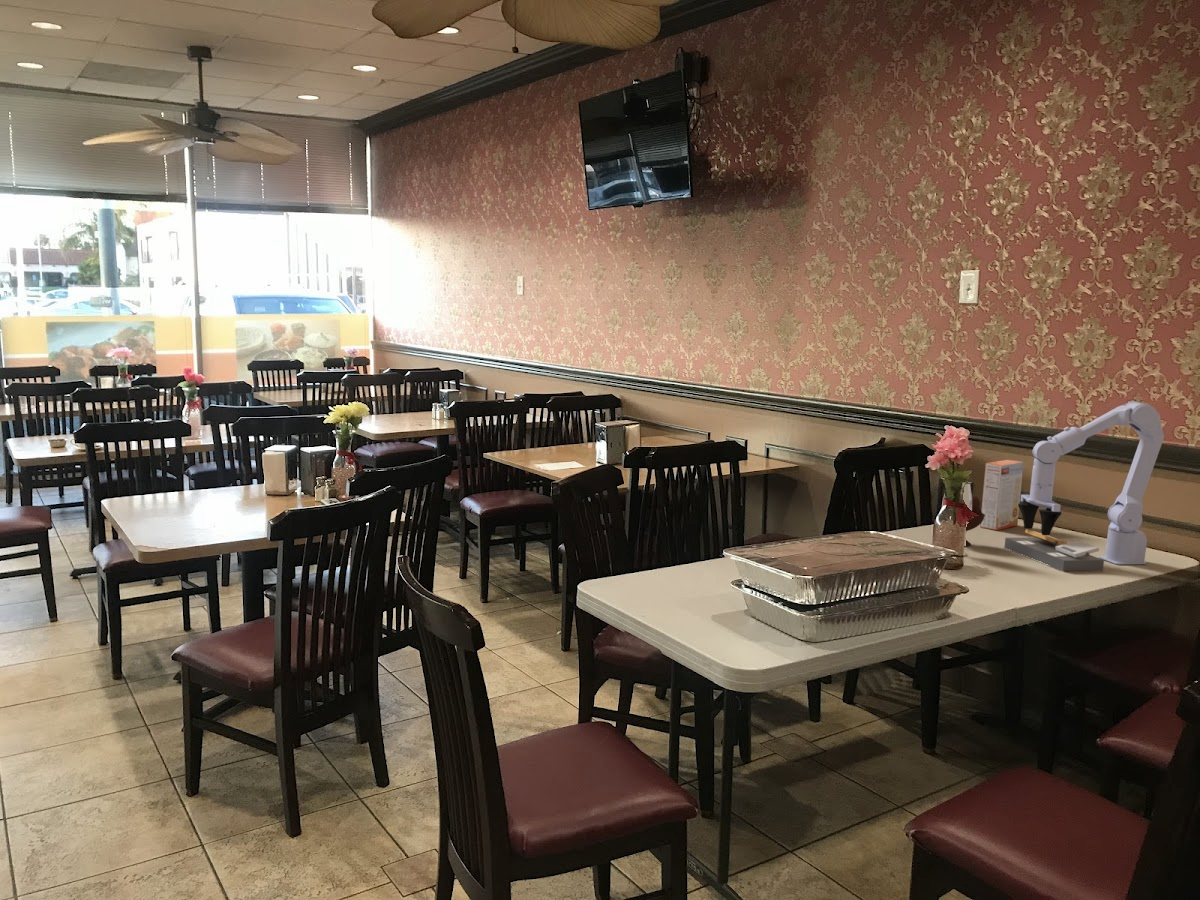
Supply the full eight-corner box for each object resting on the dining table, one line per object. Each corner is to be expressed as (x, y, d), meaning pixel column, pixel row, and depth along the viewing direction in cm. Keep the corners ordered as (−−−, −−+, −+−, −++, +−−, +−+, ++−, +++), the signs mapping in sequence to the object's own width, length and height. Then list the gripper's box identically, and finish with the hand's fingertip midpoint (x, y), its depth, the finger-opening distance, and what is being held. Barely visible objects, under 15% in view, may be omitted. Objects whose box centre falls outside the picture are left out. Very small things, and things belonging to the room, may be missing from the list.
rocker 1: (1044, 539, 274) (1046, 534, 274) (1065, 547, 265) (1067, 542, 265) (1024, 534, 272) (1026, 528, 272) (1044, 541, 263) (1046, 536, 263)
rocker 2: (1078, 545, 260) (1077, 540, 260) (1099, 553, 253) (1098, 547, 252) (1055, 552, 259) (1055, 546, 259) (1075, 559, 252) (1075, 553, 251)
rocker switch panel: (1053, 547, 277) (1054, 536, 277) (1115, 570, 253) (1117, 559, 252) (1004, 547, 274) (1005, 536, 273) (1062, 571, 250) (1064, 559, 249)
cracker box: (1000, 522, 309) (1006, 458, 306) (1018, 526, 305) (1025, 461, 302) (978, 527, 300) (984, 461, 297) (996, 531, 296) (1003, 464, 293)
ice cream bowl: (974, 540, 281) (979, 490, 279) (985, 550, 270) (991, 498, 268) (937, 538, 282) (942, 488, 280) (947, 547, 271) (952, 495, 269)
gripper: (1013, 479, 272) (1008, 525, 274) (1046, 488, 258) (1040, 537, 260) (1035, 479, 273) (1029, 525, 275) (1069, 489, 259) (1063, 537, 261)
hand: (1036, 531), depth 268 cm, fingers open, 7 cm apart
